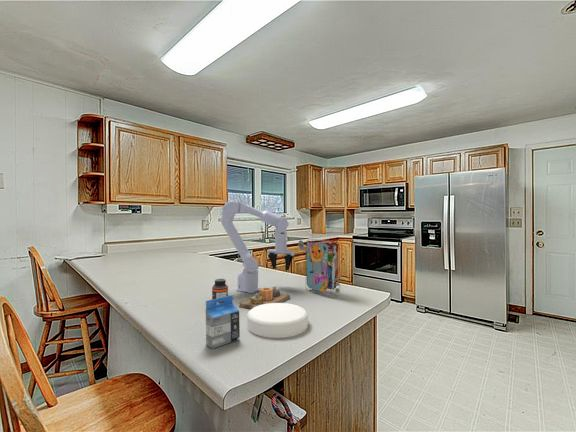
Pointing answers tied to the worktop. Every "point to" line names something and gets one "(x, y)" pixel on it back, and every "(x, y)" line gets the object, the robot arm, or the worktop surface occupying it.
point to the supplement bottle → (219, 290)
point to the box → (321, 265)
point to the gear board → (259, 300)
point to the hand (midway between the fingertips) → (280, 269)
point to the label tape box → (221, 322)
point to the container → (277, 320)
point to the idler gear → (266, 293)
